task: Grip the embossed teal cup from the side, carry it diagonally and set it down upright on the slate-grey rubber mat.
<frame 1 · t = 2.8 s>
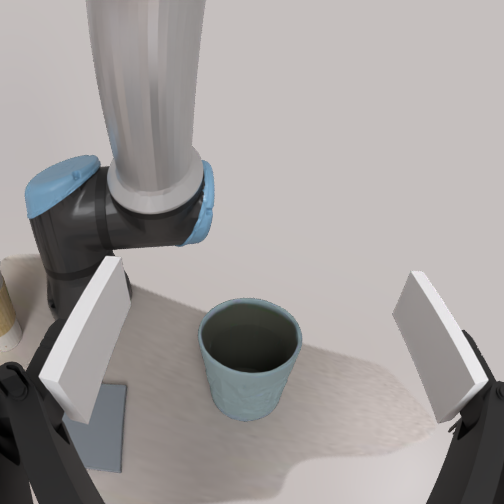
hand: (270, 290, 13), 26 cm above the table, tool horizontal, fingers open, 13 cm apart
slate mat: (65, 421, 28), on the table
coffee cup: (7, 338, 36), on the table
embossed teal cup: (243, 393, 36), on the table
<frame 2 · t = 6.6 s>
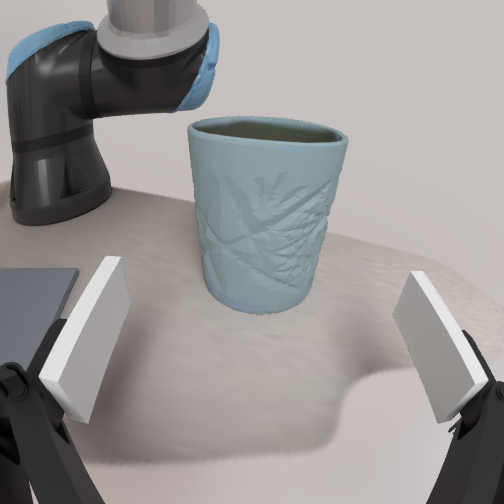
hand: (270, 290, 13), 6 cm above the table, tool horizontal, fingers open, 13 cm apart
embossed teal cup: (254, 280, 25), on the table
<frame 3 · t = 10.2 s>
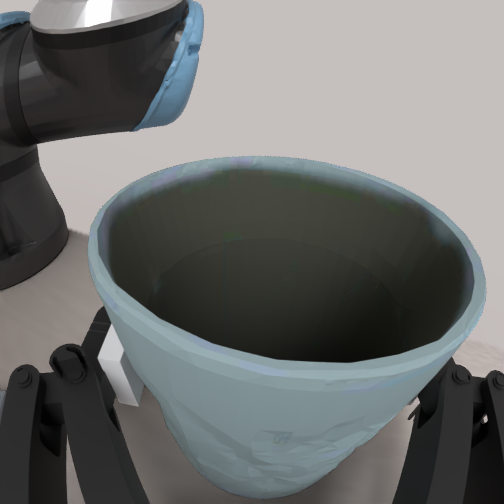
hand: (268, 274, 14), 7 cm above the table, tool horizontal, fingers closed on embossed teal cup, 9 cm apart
embossed teal cup: (257, 427, 14), on the table, touching gripper
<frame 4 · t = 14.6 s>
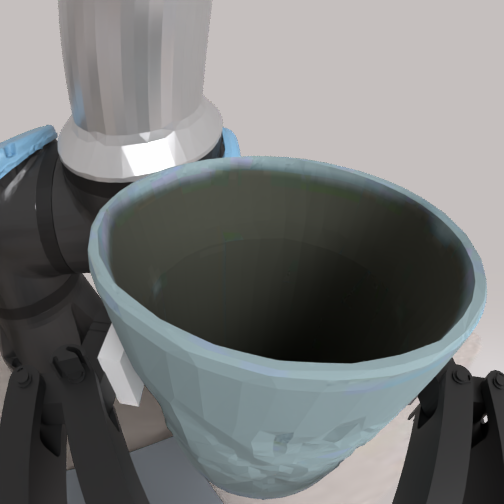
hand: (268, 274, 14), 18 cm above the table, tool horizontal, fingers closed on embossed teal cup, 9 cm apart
embossed teal cup: (257, 427, 14), point 11 cm above the table, touching gripper
when the fingers open (8 cm above the table, at t = 19.0 s): embossed teal cup drops 1 cm, resting on slate mat.
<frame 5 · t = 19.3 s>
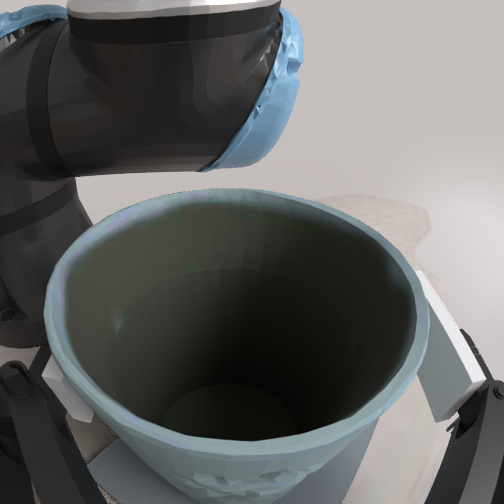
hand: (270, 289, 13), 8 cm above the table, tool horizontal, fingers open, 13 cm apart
slate mat: (256, 439, 15), on the table
embossed teal cup: (228, 442, 14), resting on slate mat, touching gripper
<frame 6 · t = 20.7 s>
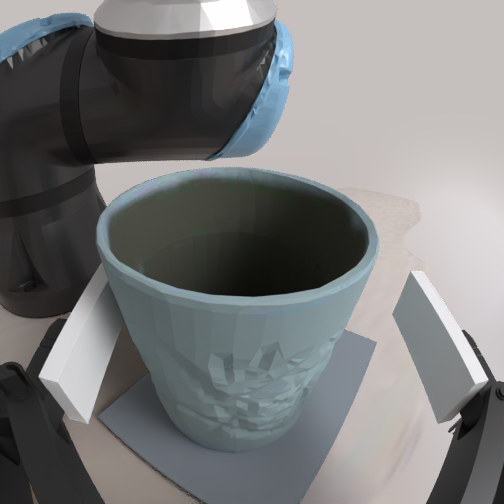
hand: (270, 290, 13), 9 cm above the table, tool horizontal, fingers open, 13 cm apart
slate mat: (254, 390, 18), on the table
embossed teal cup: (228, 393, 17), resting on slate mat, touching gripper
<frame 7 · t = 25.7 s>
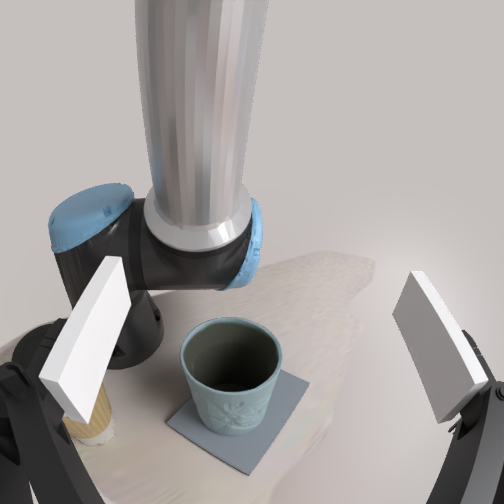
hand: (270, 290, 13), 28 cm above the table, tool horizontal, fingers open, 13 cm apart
slate mat: (242, 406, 36), on the table
coffee cup: (94, 426, 31), on the table
embossed teal cup: (229, 408, 36), resting on slate mat
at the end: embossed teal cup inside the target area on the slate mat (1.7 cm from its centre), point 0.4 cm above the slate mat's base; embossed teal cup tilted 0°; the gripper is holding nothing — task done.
